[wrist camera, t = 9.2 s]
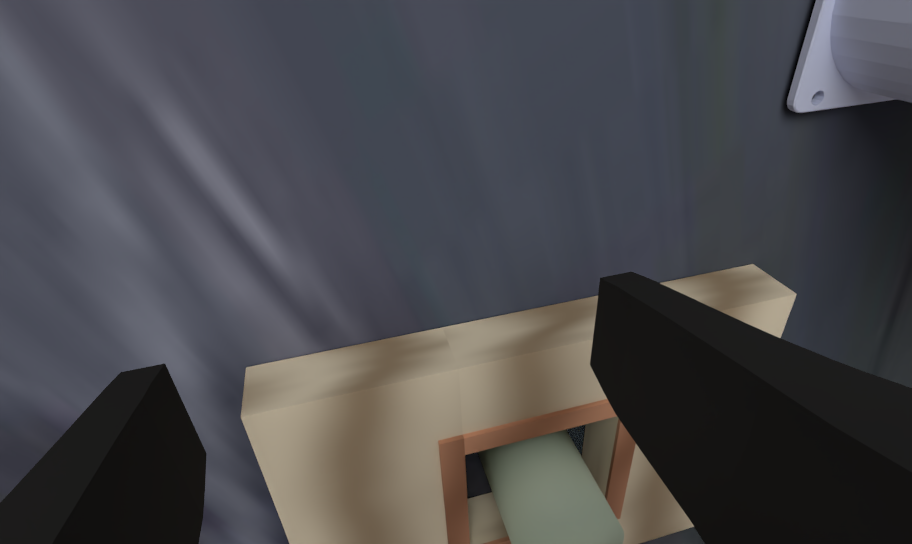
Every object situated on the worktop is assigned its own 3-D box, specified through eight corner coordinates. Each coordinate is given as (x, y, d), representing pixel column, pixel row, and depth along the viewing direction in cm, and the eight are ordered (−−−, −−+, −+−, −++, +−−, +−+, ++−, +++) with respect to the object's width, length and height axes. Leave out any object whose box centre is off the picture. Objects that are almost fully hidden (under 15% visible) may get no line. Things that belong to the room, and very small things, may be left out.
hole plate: (752, 264, 24) (800, 296, 21) (685, 484, 32) (714, 524, 30) (245, 367, 19) (240, 421, 17) (324, 589, 28) (327, 644, 26)
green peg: (543, 391, 24) (607, 504, 20) (572, 439, 27) (635, 549, 22) (462, 438, 25) (505, 560, 20) (498, 481, 27) (544, 599, 22)
